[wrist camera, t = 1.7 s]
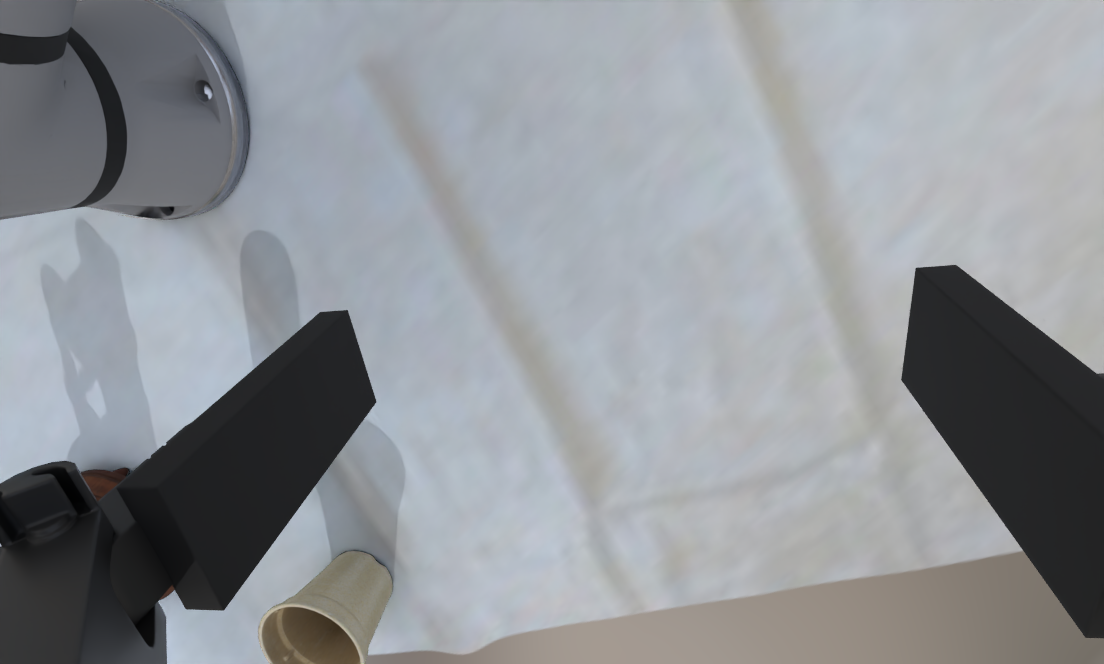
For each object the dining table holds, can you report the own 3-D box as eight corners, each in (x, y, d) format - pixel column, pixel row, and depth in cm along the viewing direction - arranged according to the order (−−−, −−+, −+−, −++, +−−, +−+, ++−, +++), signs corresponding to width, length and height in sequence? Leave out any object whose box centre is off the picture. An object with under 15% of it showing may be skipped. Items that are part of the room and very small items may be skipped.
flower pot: (375, 522, 54) (319, 592, 46) (429, 603, 56) (385, 684, 48) (300, 550, 57) (236, 620, 49) (353, 626, 59) (300, 705, 51)
